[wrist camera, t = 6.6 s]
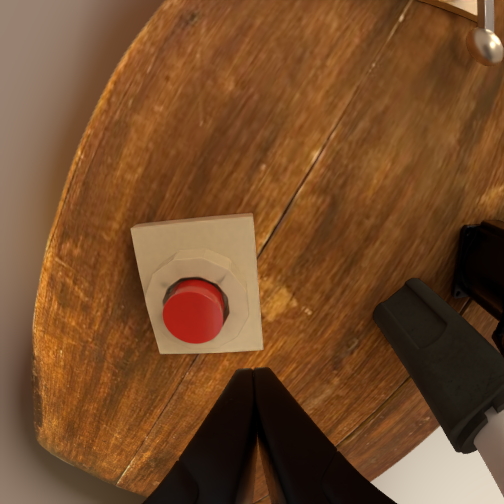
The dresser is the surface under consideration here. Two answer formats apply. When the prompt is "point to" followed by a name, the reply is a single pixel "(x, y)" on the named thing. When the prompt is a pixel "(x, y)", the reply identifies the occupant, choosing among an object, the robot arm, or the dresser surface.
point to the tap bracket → (457, 7)
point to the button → (194, 311)
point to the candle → (449, 370)
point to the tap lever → (485, 36)
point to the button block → (202, 276)
